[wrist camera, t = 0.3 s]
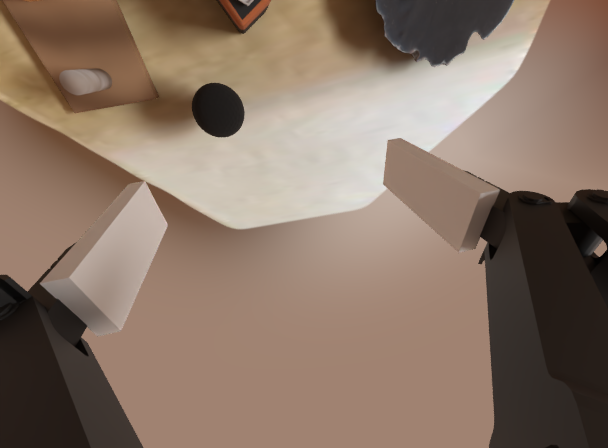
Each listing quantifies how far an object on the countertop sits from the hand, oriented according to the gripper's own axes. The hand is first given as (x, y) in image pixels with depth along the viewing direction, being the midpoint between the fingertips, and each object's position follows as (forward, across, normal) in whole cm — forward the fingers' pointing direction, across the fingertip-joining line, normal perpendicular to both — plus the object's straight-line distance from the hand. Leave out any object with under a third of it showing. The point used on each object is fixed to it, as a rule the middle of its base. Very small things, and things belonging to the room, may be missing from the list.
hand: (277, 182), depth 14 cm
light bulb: (+28, -4, +1) cm, 28 cm away
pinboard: (+27, -18, +10) cm, 34 cm away
